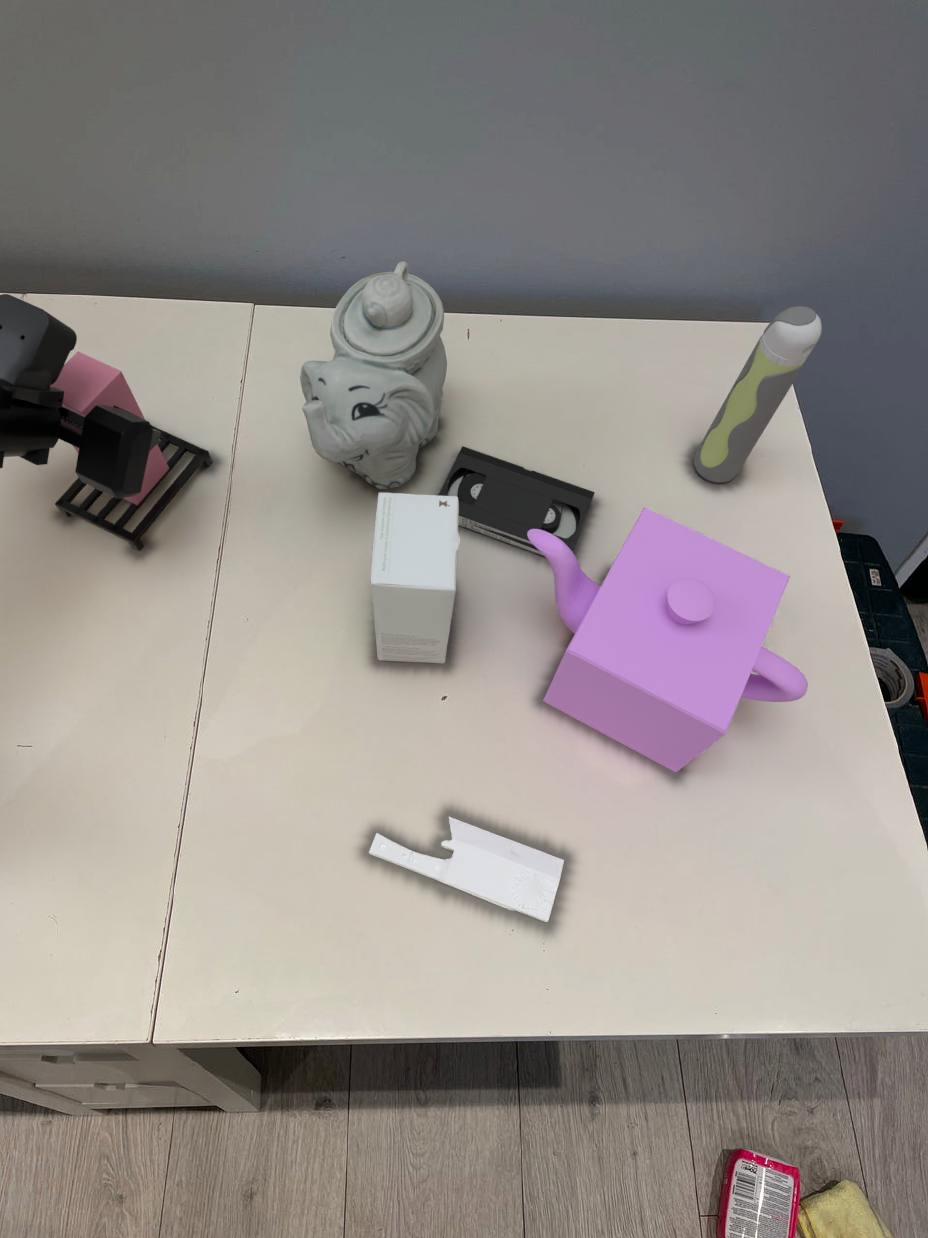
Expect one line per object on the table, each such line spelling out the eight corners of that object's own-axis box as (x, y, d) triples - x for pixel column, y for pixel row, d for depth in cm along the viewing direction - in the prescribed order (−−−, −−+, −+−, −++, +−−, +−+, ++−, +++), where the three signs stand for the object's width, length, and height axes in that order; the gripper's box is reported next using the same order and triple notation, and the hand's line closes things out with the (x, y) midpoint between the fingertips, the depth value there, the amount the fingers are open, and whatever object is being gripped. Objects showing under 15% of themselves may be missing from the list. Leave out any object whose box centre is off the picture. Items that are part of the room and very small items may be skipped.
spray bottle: (711, 492, 77) (800, 345, 59) (682, 458, 78) (761, 306, 60) (746, 474, 78) (844, 325, 60) (717, 441, 80) (804, 287, 62)
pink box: (137, 505, 70) (81, 412, 58) (99, 487, 71) (36, 391, 59) (169, 468, 72) (121, 370, 60) (132, 450, 73) (78, 350, 61)
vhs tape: (432, 516, 74) (432, 505, 72) (461, 458, 77) (462, 445, 75) (567, 565, 72) (571, 554, 70) (590, 503, 75) (594, 492, 73)
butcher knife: (393, 795, 61) (392, 792, 60) (564, 861, 60) (566, 859, 59) (368, 854, 59) (368, 852, 58) (545, 924, 58) (548, 923, 57)
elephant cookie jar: (335, 537, 72) (309, 403, 55) (276, 427, 77) (236, 274, 60) (482, 476, 76) (500, 334, 59) (416, 376, 81) (415, 219, 64)
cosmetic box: (383, 583, 70) (375, 485, 56) (453, 587, 70) (461, 491, 56) (376, 665, 66) (365, 582, 52) (449, 668, 67) (457, 587, 53)
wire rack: (139, 551, 70) (133, 542, 68) (62, 514, 71) (54, 503, 70) (212, 462, 75) (208, 450, 73) (139, 428, 76) (133, 416, 75)
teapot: (546, 541, 73) (572, 451, 60) (783, 659, 69) (865, 589, 56) (472, 663, 67) (485, 592, 54) (728, 801, 63) (806, 758, 50)
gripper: (85, 351, 47) (225, 365, 61) (-142, 250, 50) (43, 286, 64) (58, 512, 51) (195, 489, 65) (-152, 410, 53) (25, 410, 68)
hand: (114, 416), depth 66 cm, fingers open, 9 cm apart
